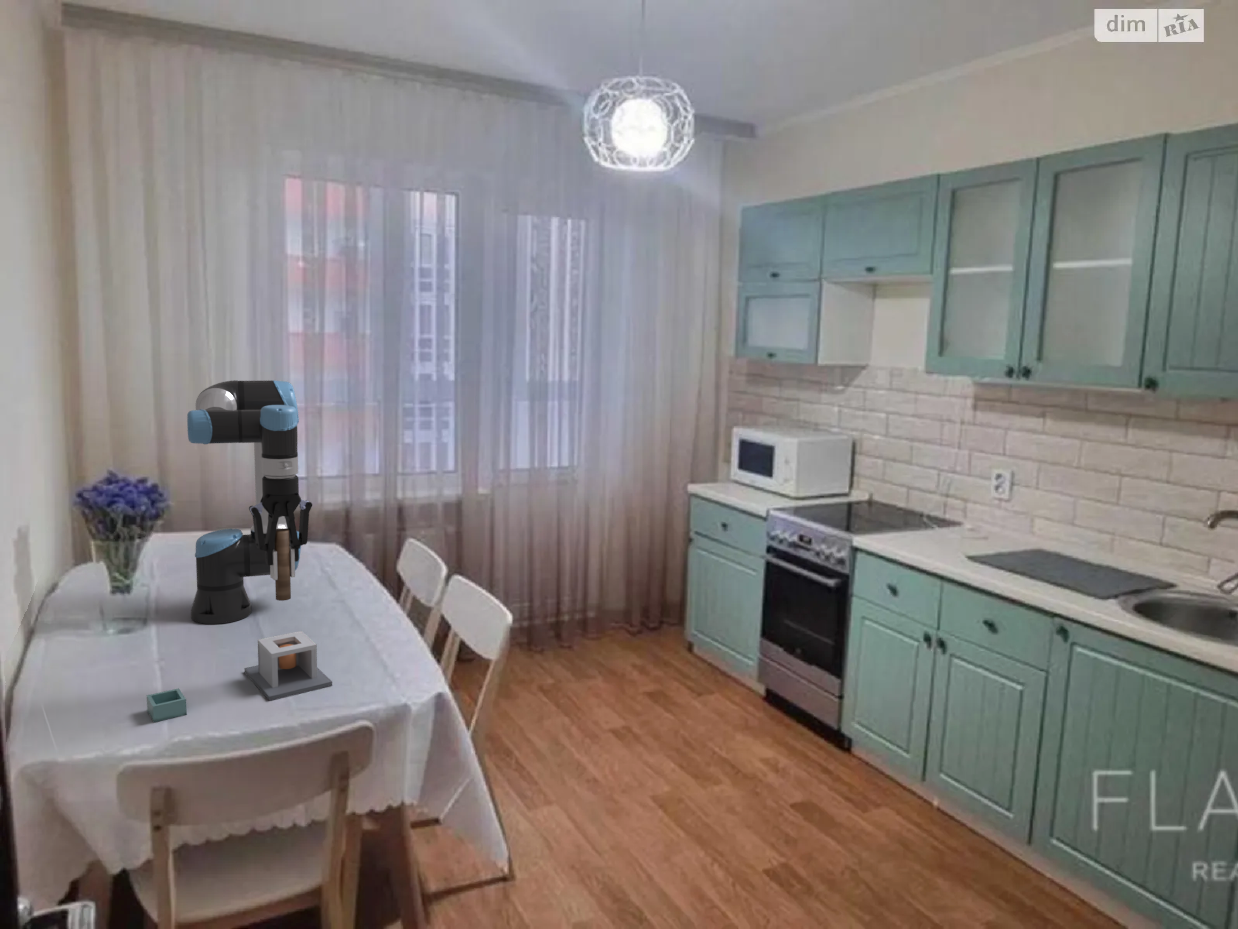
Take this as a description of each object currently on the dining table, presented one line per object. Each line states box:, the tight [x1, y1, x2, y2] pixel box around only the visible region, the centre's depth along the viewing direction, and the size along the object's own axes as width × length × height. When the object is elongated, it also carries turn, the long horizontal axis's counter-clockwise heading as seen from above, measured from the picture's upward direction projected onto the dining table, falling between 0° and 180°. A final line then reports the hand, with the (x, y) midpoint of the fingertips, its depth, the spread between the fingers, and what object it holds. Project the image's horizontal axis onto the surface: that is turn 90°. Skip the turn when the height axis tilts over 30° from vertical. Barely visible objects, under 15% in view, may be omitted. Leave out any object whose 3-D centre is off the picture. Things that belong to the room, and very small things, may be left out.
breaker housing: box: [244, 630, 333, 702], centre depth 198 cm, size 18×14×9 cm
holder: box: [146, 687, 188, 723], centre depth 180 cm, size 6×6×4 cm
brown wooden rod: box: [274, 528, 292, 602], centre depth 193 cm, size 3×3×16 cm
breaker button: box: [279, 644, 296, 669], centre depth 197 cm, size 4×4×4 cm
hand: (282, 576), depth 194 cm, fingers closed on brown wooden rod, 3 cm apart
